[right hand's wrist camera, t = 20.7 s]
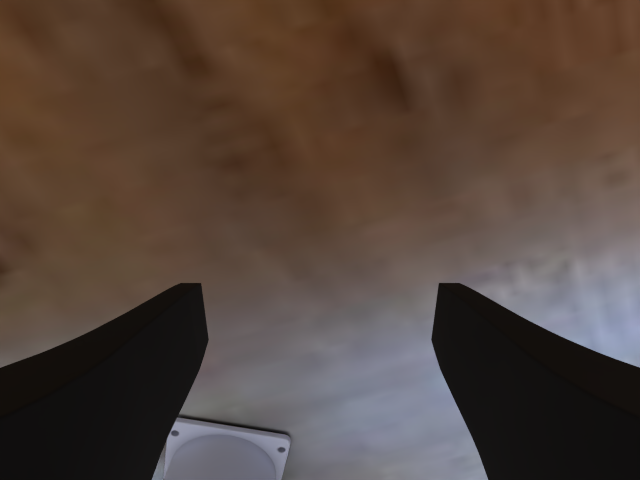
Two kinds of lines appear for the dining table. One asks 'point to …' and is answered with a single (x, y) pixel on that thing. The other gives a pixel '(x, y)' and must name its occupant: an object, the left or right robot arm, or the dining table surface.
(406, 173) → the dining table surface
